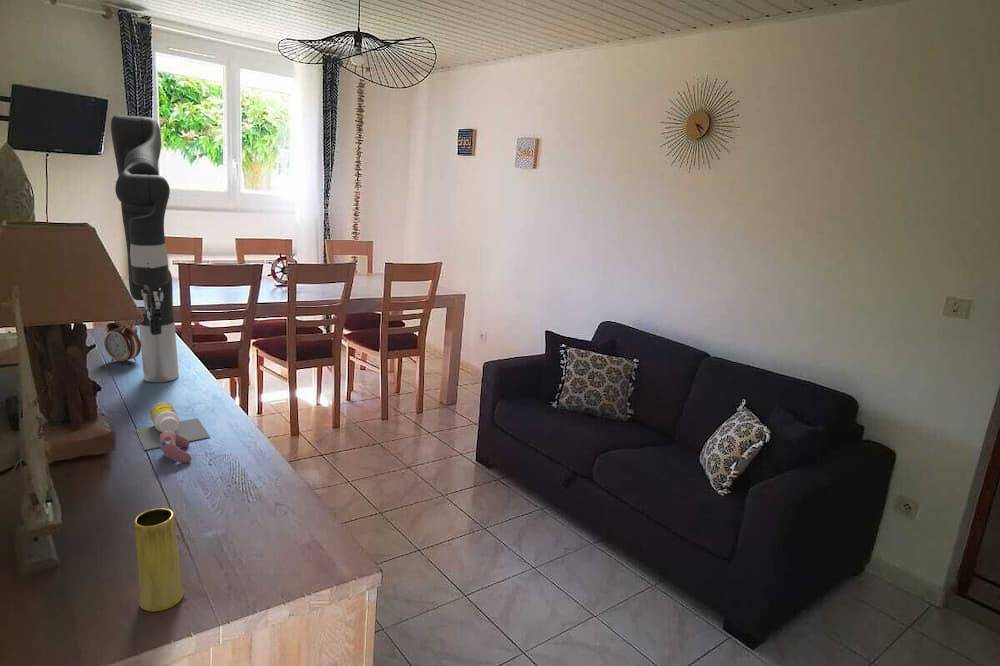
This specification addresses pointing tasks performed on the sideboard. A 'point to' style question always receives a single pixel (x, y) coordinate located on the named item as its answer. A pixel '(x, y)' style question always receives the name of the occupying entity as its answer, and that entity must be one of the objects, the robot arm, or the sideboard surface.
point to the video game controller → (174, 446)
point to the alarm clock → (122, 341)
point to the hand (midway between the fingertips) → (156, 333)
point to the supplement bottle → (164, 417)
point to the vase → (158, 560)
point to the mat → (185, 428)
